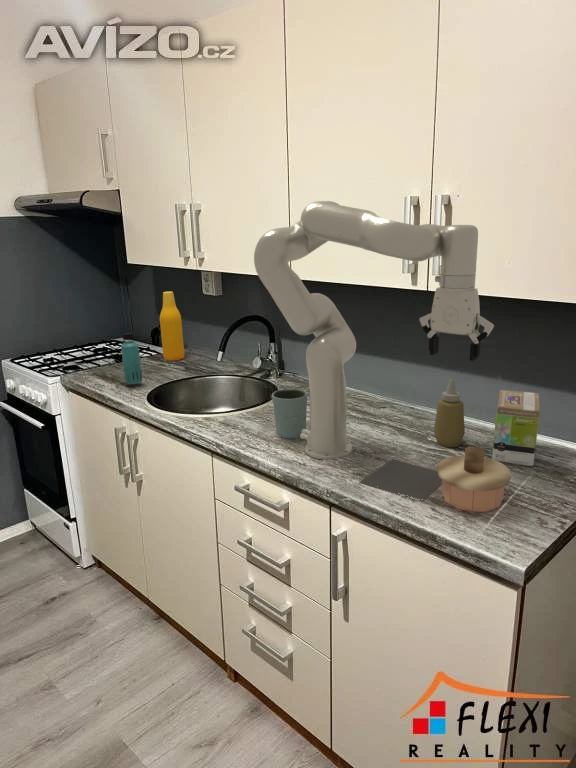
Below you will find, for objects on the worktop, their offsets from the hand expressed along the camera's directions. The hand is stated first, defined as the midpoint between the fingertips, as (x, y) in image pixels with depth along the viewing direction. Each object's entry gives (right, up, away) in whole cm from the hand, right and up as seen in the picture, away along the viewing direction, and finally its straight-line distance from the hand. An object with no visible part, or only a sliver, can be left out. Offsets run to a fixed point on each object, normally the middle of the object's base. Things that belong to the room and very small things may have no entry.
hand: (453, 356), depth 136 cm
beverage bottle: (-96, -7, +84) cm, 128 cm away
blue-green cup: (-37, -21, +34) cm, 55 cm away
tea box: (+20, -24, +16) cm, 35 cm away
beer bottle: (-88, +5, +122) cm, 151 cm away
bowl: (+2, -32, -7) cm, 33 cm away
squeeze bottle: (+5, -23, +22) cm, 32 cm away
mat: (-10, -29, +2) cm, 31 cm away
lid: (+2, -26, -9) cm, 27 cm away
